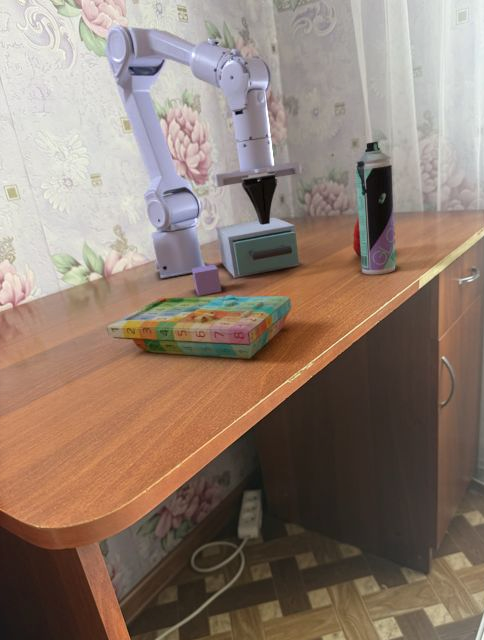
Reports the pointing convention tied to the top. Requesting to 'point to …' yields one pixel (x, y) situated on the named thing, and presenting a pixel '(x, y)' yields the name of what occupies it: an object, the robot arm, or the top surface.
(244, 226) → the mini drawer cabinet
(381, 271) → the spray can
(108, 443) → the top surface
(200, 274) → the lavender toy cube
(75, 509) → the top surface
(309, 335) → the top surface
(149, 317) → the puzzle game
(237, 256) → the open teal drawer
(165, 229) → the robot arm
